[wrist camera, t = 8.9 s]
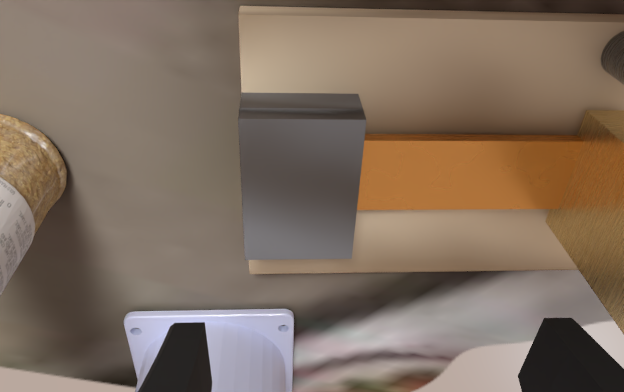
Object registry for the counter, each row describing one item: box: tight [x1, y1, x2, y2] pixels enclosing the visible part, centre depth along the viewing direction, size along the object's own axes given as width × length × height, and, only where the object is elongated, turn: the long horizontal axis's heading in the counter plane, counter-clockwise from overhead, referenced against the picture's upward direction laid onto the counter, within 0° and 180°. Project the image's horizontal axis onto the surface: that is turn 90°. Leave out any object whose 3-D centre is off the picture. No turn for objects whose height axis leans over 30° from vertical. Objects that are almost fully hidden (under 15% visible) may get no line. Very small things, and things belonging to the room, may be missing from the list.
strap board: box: [238, 6, 624, 274], centre depth 20 cm, size 11×20×3 cm, turn 88°
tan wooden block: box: [357, 110, 624, 334], centre depth 17 cm, size 5×11×7 cm, turn 88°
